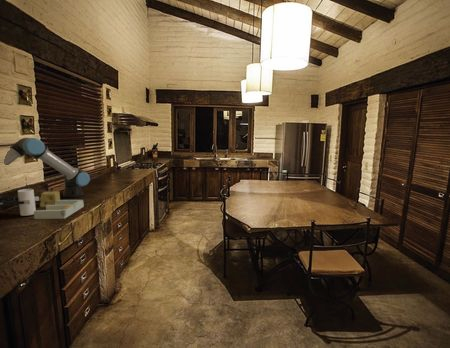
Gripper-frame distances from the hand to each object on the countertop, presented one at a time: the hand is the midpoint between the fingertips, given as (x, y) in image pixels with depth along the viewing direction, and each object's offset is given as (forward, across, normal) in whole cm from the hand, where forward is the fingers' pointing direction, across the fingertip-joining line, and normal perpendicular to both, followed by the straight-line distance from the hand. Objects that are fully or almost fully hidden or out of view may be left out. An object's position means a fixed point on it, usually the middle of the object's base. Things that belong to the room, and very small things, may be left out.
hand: (34, 200), depth 169 cm
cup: (-5, 0, -9) cm, 10 cm away
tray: (+13, -6, -10) cm, 17 cm away
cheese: (-4, -25, -11) cm, 28 cm away
